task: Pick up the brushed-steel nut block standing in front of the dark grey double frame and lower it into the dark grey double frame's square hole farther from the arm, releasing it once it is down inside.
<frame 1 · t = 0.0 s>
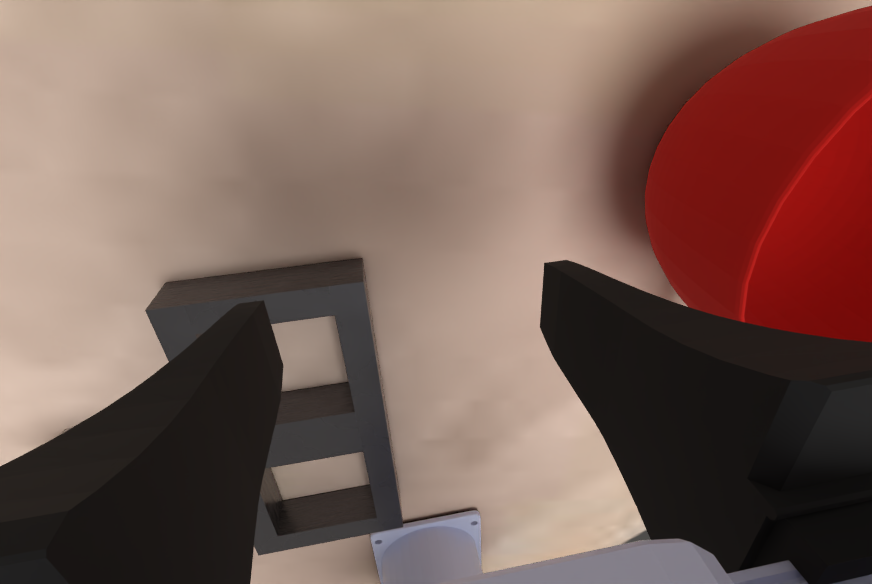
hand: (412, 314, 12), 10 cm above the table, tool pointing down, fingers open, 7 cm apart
ceramic cup: (698, 196, 23), on the table
dark grey double frame: (305, 409, 26), on the table
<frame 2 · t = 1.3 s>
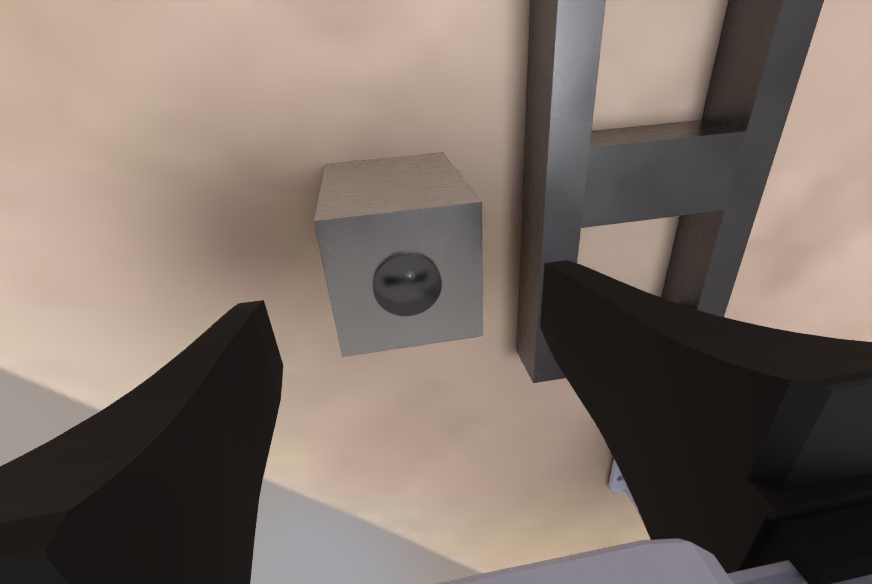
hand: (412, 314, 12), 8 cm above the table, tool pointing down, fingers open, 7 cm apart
dark grey double frame: (627, 164, 19), on the table
nut block: (391, 214, 18), on the table
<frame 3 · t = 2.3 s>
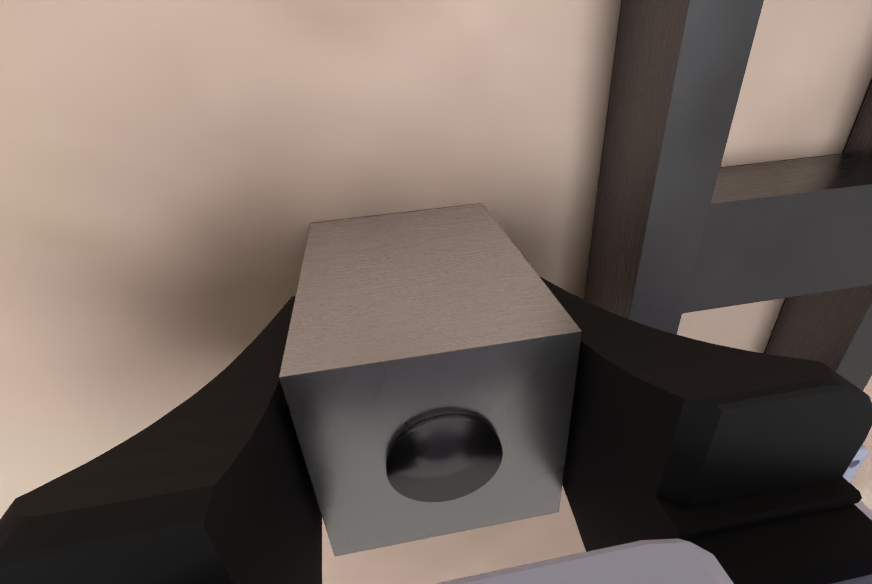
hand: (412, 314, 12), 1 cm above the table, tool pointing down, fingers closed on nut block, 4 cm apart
dark grey double frame: (734, 214, 13), on the table
nut block: (406, 287, 13), on the table, touching gripper
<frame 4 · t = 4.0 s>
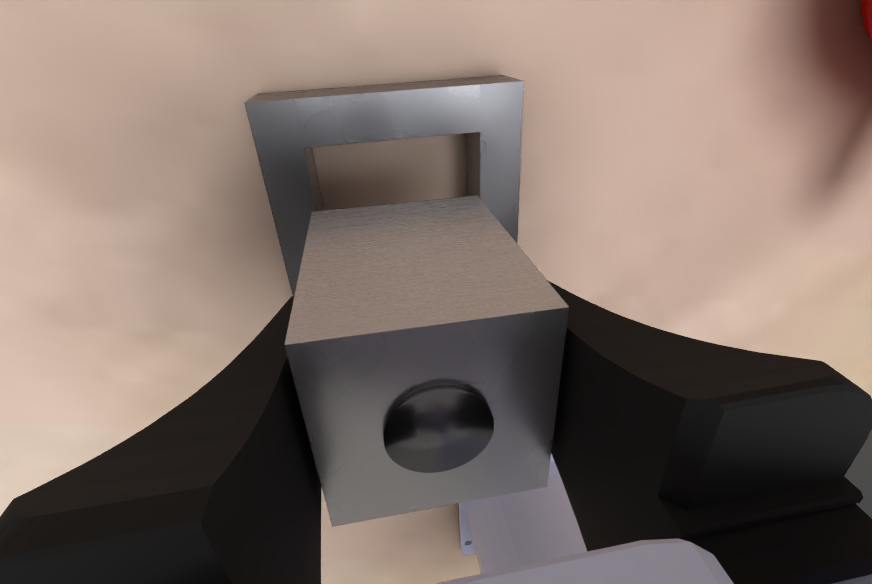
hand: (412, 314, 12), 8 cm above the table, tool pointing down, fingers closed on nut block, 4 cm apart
dark grey double frame: (405, 294, 21), on the table
nut block: (403, 276, 13), point 6 cm above the table, touching gripper
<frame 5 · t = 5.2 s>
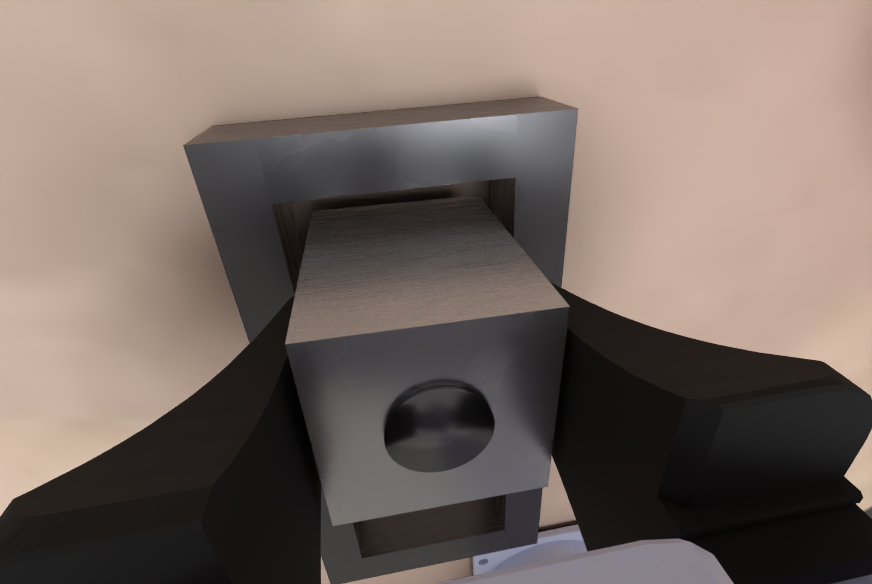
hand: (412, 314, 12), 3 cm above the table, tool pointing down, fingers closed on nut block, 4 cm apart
dark grey double frame: (412, 366, 17), on the table
nut block: (403, 276, 13), point 1 cm above the table, touching gripper
when the fingers open (3 cm above the table, at t = 5.8 s): nut block drops 1 cm, resting in dark grey double frame.
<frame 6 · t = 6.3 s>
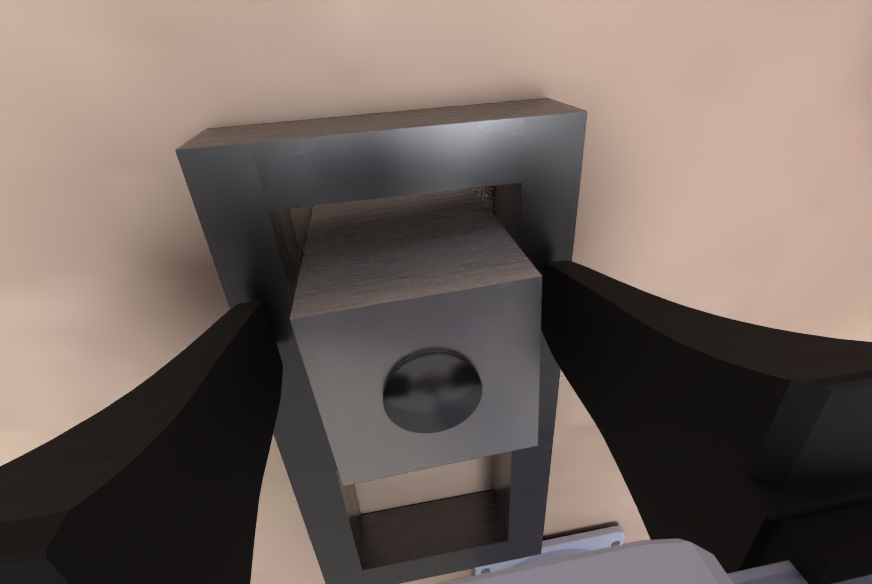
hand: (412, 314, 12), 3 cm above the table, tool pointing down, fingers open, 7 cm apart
dark grey double frame: (413, 374, 16), on the table
nut block: (402, 262, 14), resting in dark grey double frame
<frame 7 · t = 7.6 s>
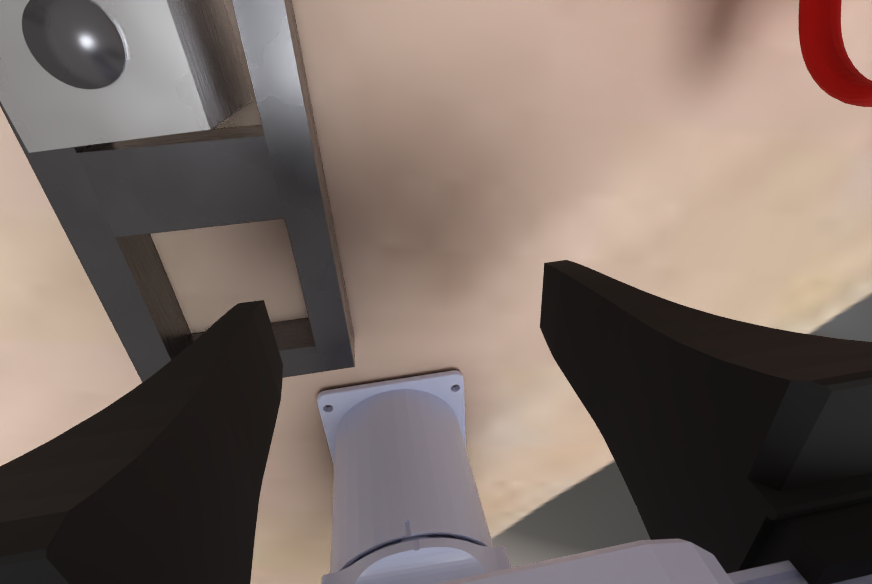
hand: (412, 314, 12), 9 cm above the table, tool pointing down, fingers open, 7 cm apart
dark grey double frame: (206, 170, 18), on the table
nut block: (166, 38, 16), resting in dark grey double frame
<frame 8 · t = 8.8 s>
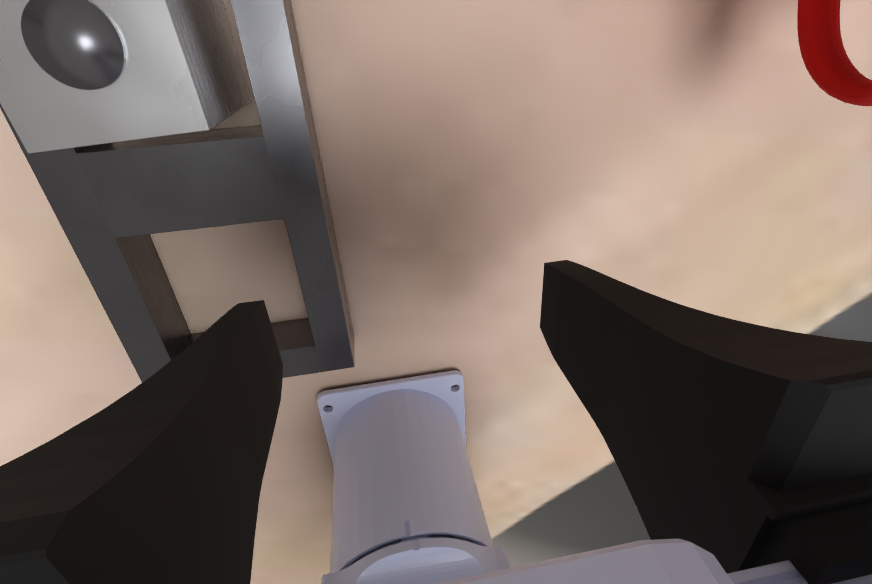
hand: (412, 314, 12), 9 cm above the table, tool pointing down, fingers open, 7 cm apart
dark grey double frame: (206, 170, 18), on the table
nut block: (166, 39, 16), resting in dark grey double frame
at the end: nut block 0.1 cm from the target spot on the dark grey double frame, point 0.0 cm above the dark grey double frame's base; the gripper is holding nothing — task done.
